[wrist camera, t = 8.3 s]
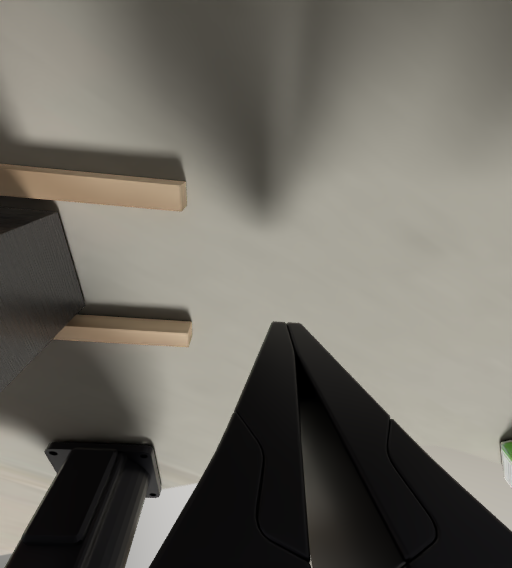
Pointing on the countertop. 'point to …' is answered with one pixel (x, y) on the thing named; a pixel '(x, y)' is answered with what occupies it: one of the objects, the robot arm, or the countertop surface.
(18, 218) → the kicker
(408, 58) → the countertop surface
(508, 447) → the syrup box
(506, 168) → the countertop surface
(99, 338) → the track
